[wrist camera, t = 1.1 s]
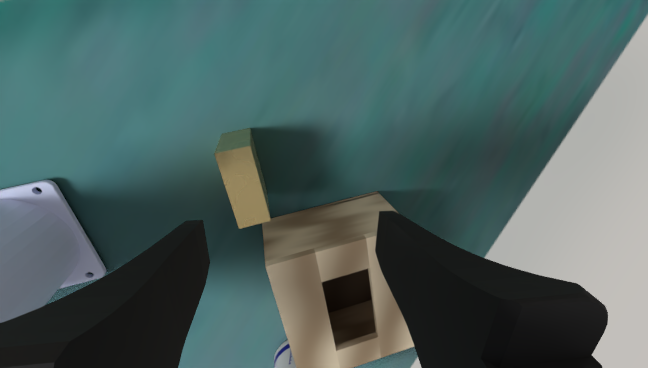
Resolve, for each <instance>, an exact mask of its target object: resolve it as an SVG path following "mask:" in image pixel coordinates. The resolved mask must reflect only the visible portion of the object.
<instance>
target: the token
mask: <svg viewBox="0 0 648 368" xmlns="http://www.w3.org/2000/svg"><path fill="white" fill-rule="evenodd" d="M214 154H215V157H216V160H217V163H218V166H219V169H220V172H221V175H222V178H223V181H224V184H225V187H226V190H227V193H228V196H229V199H230V203H231V206H232V209H233V212H234V215H235V218H236V221H237V224H238V227H239V229H241V228H245V227H248V226H252V225H256V224H260V223H264V222H268V221H271V218H270V211H269V203H268V196H267V189H266V186H265V182H264V178H263V174H262V171H261V167H260V163H259V160H258V156H257V152H256V148H255V145H254V141H253V137H252V133H251V130H250V128H247V129H243V130H238V131H233V132H228V133H224V134H222V135H221V137H220V140H219V143H218V145H217V148H216V151H215V153H214Z"/></svg>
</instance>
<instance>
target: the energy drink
mask: <svg viewBox="0 0 648 368" xmlns="http://www.w3.org/2000/svg"><path fill="white" fill-rule="evenodd" d="M274 367H275V368H296V365H295V361H294V358H293V355H292V352H291V348H290V345H289V342H288V340H286V341H285V342H284V343H282V345H281V346H280V347H279V348H278V350H277V351H276V353H275V356H274Z"/></svg>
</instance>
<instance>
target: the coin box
mask: <svg viewBox="0 0 648 368" xmlns="http://www.w3.org/2000/svg"><path fill="white" fill-rule="evenodd" d="M379 211H395V212H397V211H396V210H395V209H394V208H393V207H392V206H391V205H390V204H389V203H388V202H387V201H386V200H385V199H384V198H383V197H382V196H381V195H380V194H379V193H378V192H377V191H376V192H372V193H368V194H364V195H360V196H356V197H353V198H349V199H345V200H341V201H337V202H333V203H329V204H325V205H321V206H317V207H314V208H310V209H306V210H302V211H298V212H294V213H290V214H286V215H282V216H278V217H275V218H271V221H268V222H264V223H262V228H263V241H264V254H265V267H266V270H267V273H268V276H269V280H270V283H271V286H272V290H273V293H274V296H275V299H276V303H277V306H278V309H279V312H280V316H281V319H282V322H283V325H284V329H285V332H286V335H287V338H288V342H289V345H290V348H291V352H292V355H293V358H294V361H295V365H296V368H353V367H356V366H359V365H362V364H364V363H367V362H370V361H373V360H376V359H379V358H382V357H385V356H388V355H391V354H394V353H397V352H400V351H402V350H405V349H408V348H411V347H414V343H413V341H412V338H411V335H410V332H409V330H408V327H407V324H406V322H405V320H404V317H403V315H402V313H401V311H400V309H399V307H398V305H397V303H396V301H395V299H394V297H393V295H392V293H391V290H390V288H389V286H388V284H387V282H386V280H385V278H384V276H383V274H382V271H381V269H380V266H379V263H378V259H377V256H376V253H375V246H376V237H377V227H378V218H379ZM397 213H398V212H397Z"/></svg>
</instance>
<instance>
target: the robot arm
mask: <svg viewBox="0 0 648 368" xmlns="http://www.w3.org/2000/svg"><path fill="white" fill-rule="evenodd" d="M36 187H38V188H40V189H41V190H42V192H39V191H37V190H36ZM375 253H376V256H377V259H378V263H379V266H380V269H381V271H382V274H383V276H384V278H385V280H386V282H387V284H388V286H389V288H390V290H391V293H392V295H393V297H394V299H395V301H396V303H397V305H398V307H399V309H400V311H401V313H402V315H403V317H404V320H405V322H406V324H407V327H408V330H409V332H410V335H411V338H412V341H413V343H414V346H415V349H416V352H417V355H418V358H419V361H420V364H421V367H422V368H602V365H601V364H600V363H599V362H598V361H597V360H596V359H595V358H594V357H593V356H592V353H593V351H594V349H595V348H596V346H597V344H598V342H599V340H600V339H601V337H602V335H603V333H604V331H605V329H606V326H607V321H608V312H607V310H606V307H605V306H604V305H603V304H602V303H601V302H600V301H599V300H597V299H596V298H595V297H594V296H592V295H591V294H590V293H589V292H587V291H586V290H585V289H584V288H582V287H581V286H580V285H578V284H576V283H572V282H567V281H563V280H558V279H553V278H549V277H544V276H539V275H536V274H532V273H529V272H525V271H521V270H518V269H514V268H511V267H508V266H505V265H502V264H499V263H496V262H493V261H490V260H488V259H485V258H482V257H480V256H477V255H475V254H472V253H470V252H468V251H466V250H463V249H461V248H459V247H457V246H455V245H453V244H451V243H449V242H447V241H445V240H443V239H441V238H439V237H437V236H436V235H434V234H432V233H430V232H429V231H427V230H425V229H424V228H422V227H420V226H419V225H417V224H415V223H414V222H412V221H410V220H409V219H407V218H406V217H404V216H402V215H401V214H399V213H397V212H395V211H379V218H378V227H377V237H376V246H375ZM209 264H210V260H209V254H208V248H207V242H206V236H205V230H204V224H203V220H195V221H186V222H184V223H183V224H181V225H180V226H178V227H177V228H176V229H174V230H173V231H172V232H170V233H169V234H168V235H166V236H165V237H164V238H162V239H161V240H160V241H158V242H157V243H156V244H154V245H153V246H152V247H150V248H149V249H147V250H146V251H144V252H143V253H141V254H140V255H138V256H137V257H135V258H134V259H132V260H131V261H130V262H128V263H126V264H125V265H123V266H122V267H120V268H118V269H117V270H115V271H113V272H112V273H110V274H108V275H106V276H105V277H103V276H104V275H105V273H106V271H107V270H106V268H105V266H104V264H103V262H102V261H101V259H100V257H99V256H98V254H97V252H96V251H95V249H94V247H93V245H92V244H91V242H90V240H89V239H88V237H87V235H86V234H85V232H84V230H83V228H82V227H81V225H80V223H79V222H78V220H77V218H76V217H75V215H74V213H73V211H72V210H71V208H70V206H69V205H68V203H67V201H66V200H65V198H64V196H63V194H62V193H61V191H60V189H59V188H58V186H57V184H56V183H55V182H53V181H51V180H42V181H38V182H33V183H28V184H24V185H19V186H14V187H10V188H5V189H0V368H178V365H179V361H180V357H181V353H182V350H183V346H184V343H185V340H186V337H187V334H188V331H189V328H190V326H191V323H192V320H193V317H194V315H195V312H196V309H197V307H198V304H199V301H200V298H201V295H202V293H203V290H204V287H205V284H206V279H207V275H208V269H209ZM88 272H91V273H93V274H92V275H91V274H89V273H88ZM101 277H103V278H101ZM98 278H101V279H99V280H97V281H96V282H94V283H92V284H90V285H88V286H86V287H84V288H82V289H79V290H77V291H75V292H73V293H71V294H69V295H67V296H65V297H63V298H61V299H59V300H57V301H54V302H52V303H50V304H47V305H45V304H46V303H47V302H48V301H49V300H50V298H51V297H52V296H53V295H54V294H55V292H56V291H57V290H58V289H60V288H64V287H68V286H71V285H75V284H79V283H83V282H87V281H90V280H94V279H98Z"/></svg>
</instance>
